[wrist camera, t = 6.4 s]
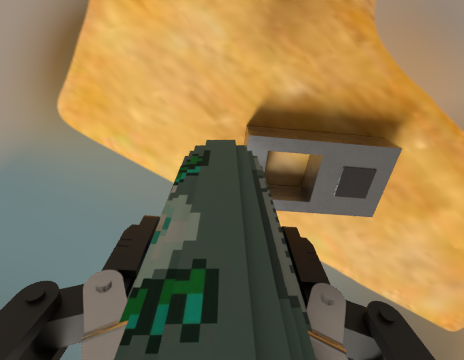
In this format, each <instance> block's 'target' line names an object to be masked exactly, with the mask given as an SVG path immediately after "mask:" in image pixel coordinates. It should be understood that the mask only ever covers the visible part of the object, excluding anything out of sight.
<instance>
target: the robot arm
mask: <svg viewBox="0 0 464 360" xmlns="http://www.w3.org/2000/svg"><path fill="white" fill-rule="evenodd" d="M159 221H160V217H159V216H146V215H145V216H144V217H143V219H142V221H141V222H140V224H139V225H131V226H130V227H129V228H127V229H126V230H125V231H124V232H123V234H122V236H121V238H120V240H119V241H118V243H117V245H116V247H115V248H114V250H113V252H112V253H111V256H110V257H109V259H108V261H107V262H106V264H105V266H104V267H103V269H102V271H100V272H97V273H95V274H94V275H92V276H91V277H90V278H89V279H88V280H87V281H86V282H85V283H84V284H82V285H78V286H73V287H68V288H63V289H59V287H58V285H57V284H56V283H54V282H52V281H40V282H36V283H34V284H31V285H29V286H27V287H25V288H24V289H22V290H21V291H20V292H19V293H18V294H16V295H15V296H14V297H13V298H12V300H10V301H9V302H8V303H7V304H6V306H4V307H3V308H2V309H1V310H0V360H60V358H61V356H62V355H63V353H64V352H65V350H66V349H67V347H68V346H69V345H72V344H76V343H80V342H82V360H114V358H115V355H116V352H117V350H118V347H119V344H120V341H121V339H122V336H123V333H124V330H125V328H126V325H127V322H128V320H129V319H128V320H125V321H123V322H120V323H119V321H120V319H121V316H122V314H123V311H124V309H125V306H126V304H127V299H128V296H129V294H130V291H131V289H132V286H133V284H134V281H135V279H137V276H138V274H139V271H140V269H141V266H142V264H143V261H144V259H145V256H146V254H147V251H148V248H149V246H150V243H151V241H152V238H153V236H154V233H155V231H156V228H157V226H158V223H159ZM281 229H282V233H283V236H284V239H285V242H286V246H287V249H288V252H289V255H290V259H291V262H292V265H293V268H294V272H295V275H296V278H297V282H298V285H299V288H300V291H301V295H302V298H303V301H304V304H305V308H306V311H307V314H308V317H309V321H310V324H311V327H312V330H313V332H312V331H310V330H308V329H307V330H308V333H309V336H310V340H311V343H312V347H313V350H314V354H315V357H316V360H346V357H348V359H349V360H435V359H434V357H433V356H432V355H431V353H430V352H429V351H428V349H427V348H426V347H425V346H424V344H423V343H422V342H421V340H420V339H419V338H418V336H417V335H416V334H415V333H414V331H413V330H412V329H411V327H410V326H409V325H408V323H407V322H406V321H405V319H404V318H403V317H402V315H401V314H400V313H399V312H398V311H397V310H395V309H394V308H393V307H392V306H390V305H388V304H386V303H383V302H381V301H372V302H370V303H369V304H368V306H367V307H364V306H361V305H358V304H355V303H352V302H350V301H347V300H345V298H344V296H343V295H342V293H341V292H340V291H339V290H338V289H337V288H335V287H333V286H331V285H330V283H329V280H328V278H327V276H326V273H325V271H324V269H323V267H322V264H321V262H320V261H319V258H318V255H317V254H316V251H315V249H314V246H313V245H312V243H311V242H310V241H309V240H308V239H307V238H302V237H300V234H299V232H298V229H297V228H296V227H285V226H282V227H281Z"/></svg>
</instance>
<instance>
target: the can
mask: <svg viewBox="0 0 464 360" xmlns="http://www.w3.org/2000/svg"><path fill="white" fill-rule="evenodd" d="M128 319H129V320H128ZM125 320H128V322H127V325H126V328H125V330H124V333H123V336H122V339H121V341H120V344H119V347H118V350H117V352H116V355H115V358H114V360H316V357H315V354H314V350H313V347H312V343H311V340H310V336H309V333H308V330H310V331H312V332H313V330H312V327H311V324H310V321H309V317H308V314H307V311H306V308H305V304H304V301H303V298H302V295H301V291H300V288H299V285H298V282H297V278H296V275H295V272H294V268H293V265H292V262H291V259H290V255H289V252H288V249H287V246H286V242H285V239H284V236H283V233H282V229H281V226H280V223H279V220H278V216H277V213H276V210H275V207H274V203H273V200H272V197H271V194H270V190H269V187H268V184H267V181H266V177H265V174H264V171H263V167H262V166H260V164H259V160H258V157H257V156H253V153H252V151H248V150H247V146H246V145H236V143H235V140H207V141H206V145H205V146H195V149H194V151H190V153H189V156H185V158H184V160H183V163H182V165H181V167H180V169H179V172H178V174H177V177H176V179H175V182H174V184H173V187H172V189H171V192H170V194H169V197H168V199H167V202H166V204H165V207H164V209H163V212H162V214H161V217H160V221H159V223H158V226H157V228H156V231H155V233H154V236H153V238H152V241H151V243H150V246H149V248H148V251H147V254H146V256H145V259H144V261H143V264H142V266H141V269H140V271H139V274H138V276H137V279H135V281H134V284H133V286H132V289H131V291H130V294H129V296H128V299H127V304H126V306H125V309H124V311H123V314H122V316H121V319H120V321H119V323H120V322H123V321H125ZM307 329H308V330H307Z"/></svg>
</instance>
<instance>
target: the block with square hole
mask: <svg viewBox="0 0 464 360" xmlns="http://www.w3.org/2000/svg"><path fill="white" fill-rule="evenodd" d="M244 145H246V146H247V150H248V151H252V153H253V156H257V157H258V160H259V164H260V166H262V167H263V171H264V172H265V166H266V160H267V155H268V151H278V152H290V153H302V154H310V156H309V160H308V164H307V167H306V171H305V175H304V179H303V183H302V187H298V186H285V185H271V184H268V187H269V190H270V194H271V197H272V200H273V203H274V207H275V210H277V211H292V212H306V213H320V214H335V215H349V216H363V217H373V214H374V212H375V210H376V207H377V205H378V203H379V200H380V198H381V196H382V194H383V191H384V189H385V187H386V184H387V182H388V180H389V178H390V175H391V173H392V171H393V168H394V166H395V164H396V161H397V159H398V157H399V155H400V152H401V150H402V148H400V147H398V146H397V145H395V144H393V143H391V142H390V141H388V140H386V139H384V138H381V137H370V136H359V135H348V134H337V133H325V132H314V131H303V130H292V129H281V128H269V127H258V126H246V134H245V142H244Z"/></svg>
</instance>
